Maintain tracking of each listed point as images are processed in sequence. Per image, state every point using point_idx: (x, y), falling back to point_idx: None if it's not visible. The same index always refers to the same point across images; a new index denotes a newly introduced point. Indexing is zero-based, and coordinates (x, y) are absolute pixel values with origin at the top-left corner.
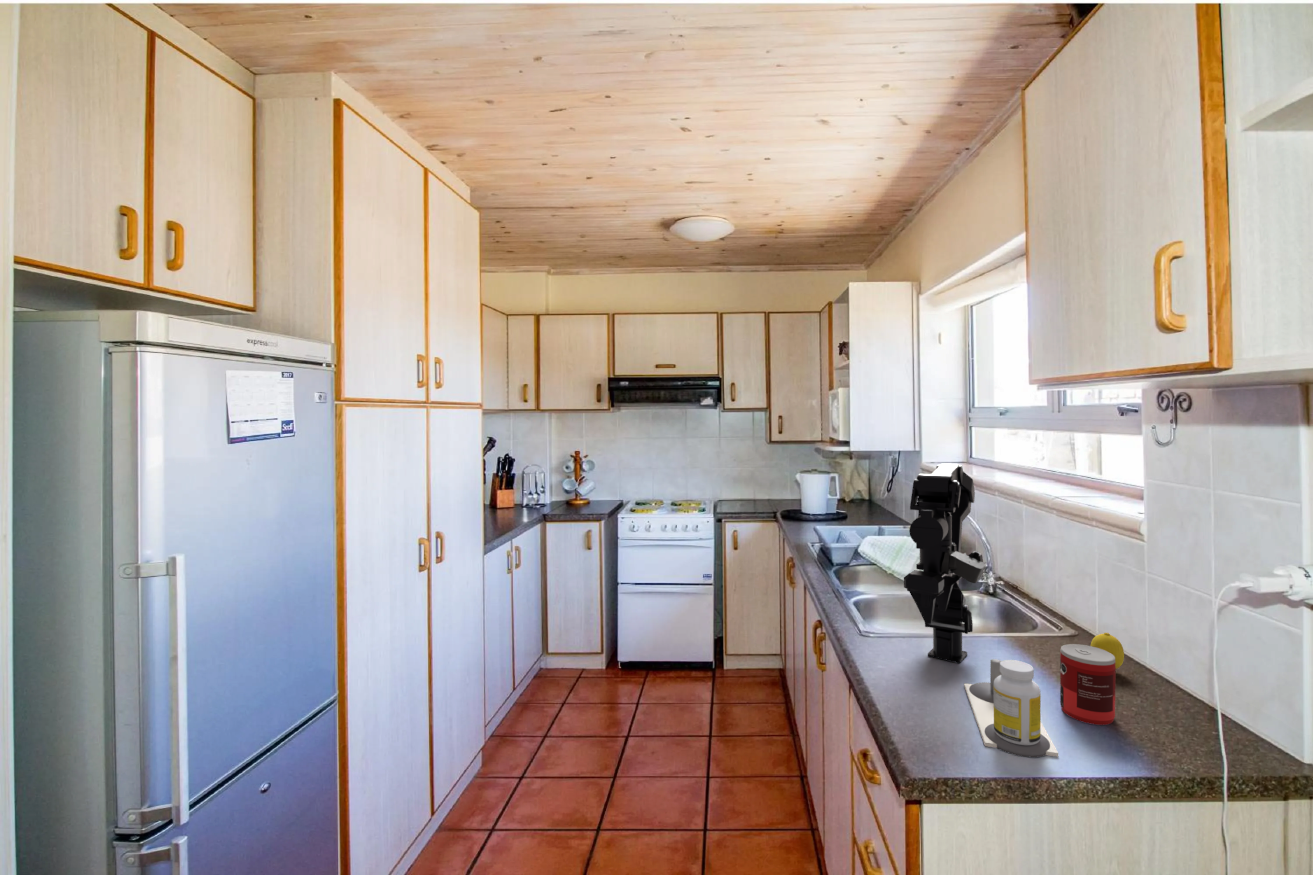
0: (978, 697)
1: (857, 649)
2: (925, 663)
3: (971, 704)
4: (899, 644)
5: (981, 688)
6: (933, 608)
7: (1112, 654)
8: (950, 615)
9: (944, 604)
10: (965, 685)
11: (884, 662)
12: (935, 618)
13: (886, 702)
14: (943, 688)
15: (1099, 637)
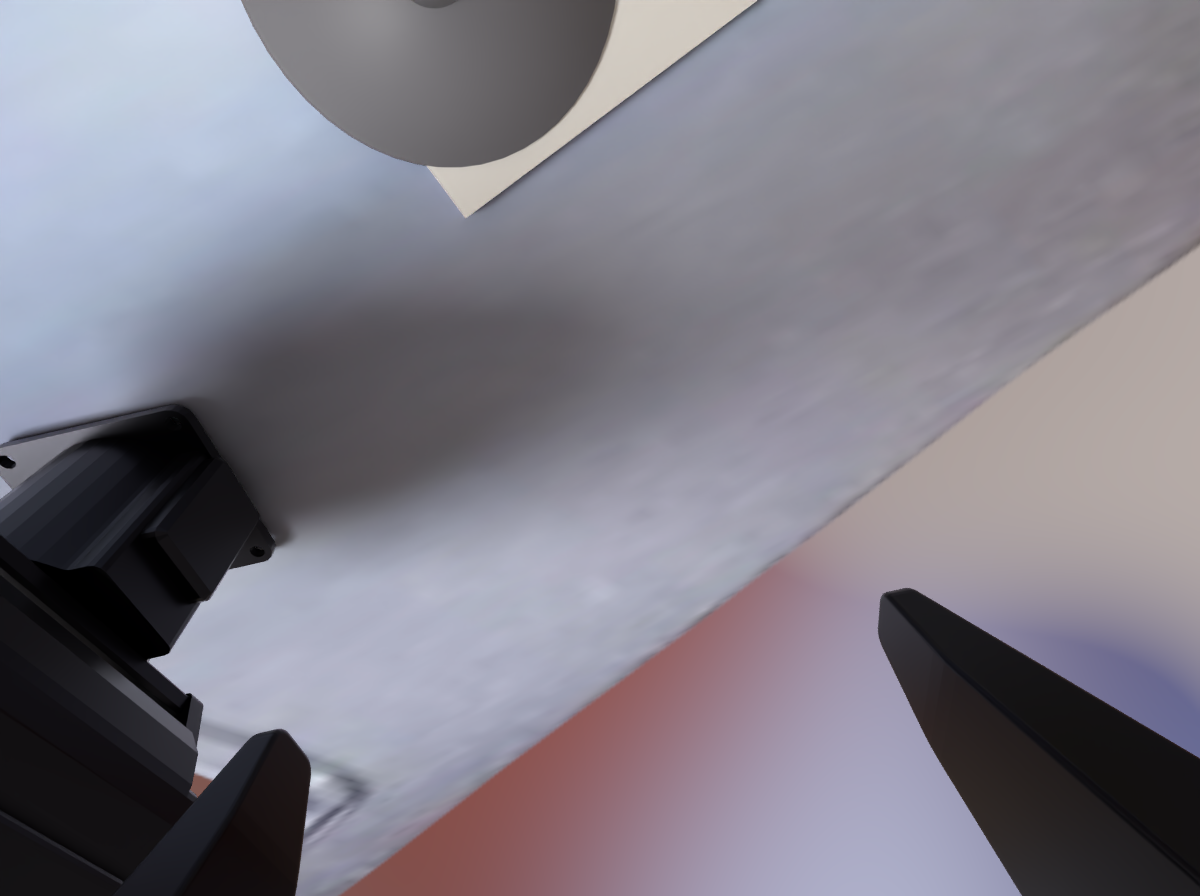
0: (609, 27)
1: (514, 722)
2: (374, 506)
3: (730, 19)
4: (285, 682)
5: (451, 86)
6: (1137, 766)
7: None
8: (33, 690)
9: (251, 829)
10: (491, 195)
11: (543, 606)
12: (163, 723)
13: (953, 375)
14: (597, 282)
15: None
